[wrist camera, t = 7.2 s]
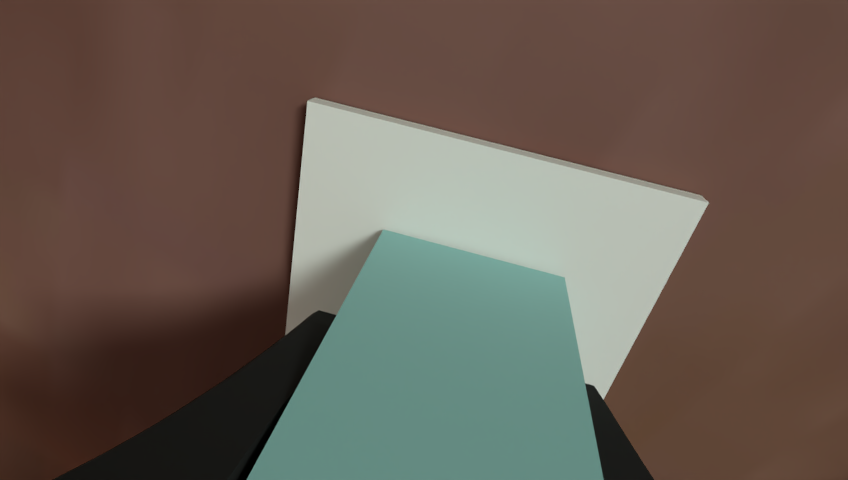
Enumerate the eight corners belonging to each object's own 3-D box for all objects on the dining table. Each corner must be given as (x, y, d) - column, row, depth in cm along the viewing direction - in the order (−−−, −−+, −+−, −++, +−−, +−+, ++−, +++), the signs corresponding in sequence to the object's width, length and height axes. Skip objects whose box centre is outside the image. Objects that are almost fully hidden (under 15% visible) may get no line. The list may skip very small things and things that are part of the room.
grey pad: (701, 195, 9) (708, 203, 9) (563, 459, 13) (564, 471, 13) (314, 97, 10) (307, 101, 9) (285, 381, 13) (280, 391, 13)
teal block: (564, 277, 10) (649, 718, 4) (509, 407, 12) (508, 839, 6) (383, 229, 10) (192, 579, 4) (357, 364, 12) (201, 741, 6)
